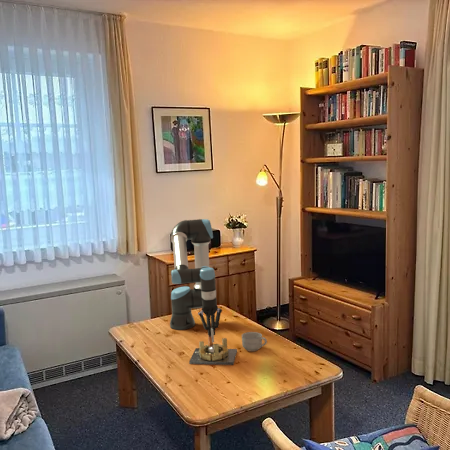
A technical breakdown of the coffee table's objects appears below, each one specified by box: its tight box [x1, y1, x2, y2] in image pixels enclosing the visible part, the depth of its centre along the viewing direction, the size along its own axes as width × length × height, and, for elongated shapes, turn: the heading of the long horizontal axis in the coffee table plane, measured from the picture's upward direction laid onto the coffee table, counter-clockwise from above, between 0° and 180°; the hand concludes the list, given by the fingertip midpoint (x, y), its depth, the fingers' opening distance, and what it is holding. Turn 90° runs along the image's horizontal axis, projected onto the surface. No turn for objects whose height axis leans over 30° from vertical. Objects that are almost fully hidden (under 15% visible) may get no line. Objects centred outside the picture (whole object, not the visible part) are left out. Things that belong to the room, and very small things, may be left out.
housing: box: [188, 346, 238, 366], centre depth 244 cm, size 16×22×6 cm
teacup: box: [241, 331, 268, 352], centre depth 251 cm, size 14×11×8 cm
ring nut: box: [198, 335, 229, 361], centre depth 243 cm, size 14×14×8 cm
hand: (212, 341), depth 249 cm, fingers closed
